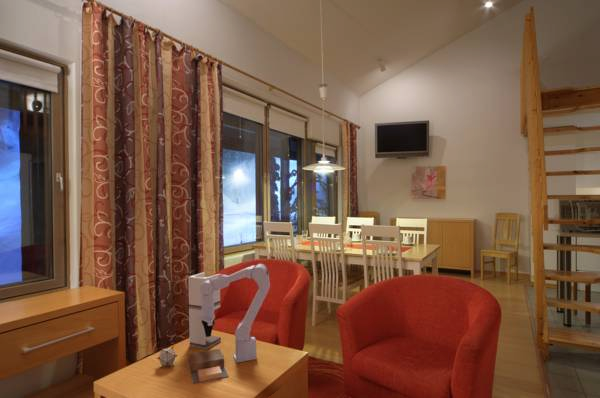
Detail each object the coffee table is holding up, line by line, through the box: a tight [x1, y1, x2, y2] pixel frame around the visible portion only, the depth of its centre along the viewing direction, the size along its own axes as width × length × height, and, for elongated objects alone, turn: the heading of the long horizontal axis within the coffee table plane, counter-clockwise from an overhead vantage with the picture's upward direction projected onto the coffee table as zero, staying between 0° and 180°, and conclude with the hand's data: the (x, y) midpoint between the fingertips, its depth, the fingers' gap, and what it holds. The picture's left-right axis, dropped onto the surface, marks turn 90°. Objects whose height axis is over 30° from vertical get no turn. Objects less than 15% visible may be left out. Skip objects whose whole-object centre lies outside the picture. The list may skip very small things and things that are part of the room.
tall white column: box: [187, 271, 222, 351], centre depth 188 cm, size 11×11×35 cm
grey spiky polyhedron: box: [156, 346, 178, 369], centre depth 164 cm, size 9×8×10 cm
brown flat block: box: [188, 348, 225, 374], centre depth 164 cm, size 14×11×4 cm
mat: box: [190, 366, 229, 385], centre depth 155 cm, size 14×9×1 cm, turn 112°
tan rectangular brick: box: [198, 366, 222, 381], centre depth 154 cm, size 9×6×2 cm, turn 112°
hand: (208, 336), depth 171 cm, fingers closed
